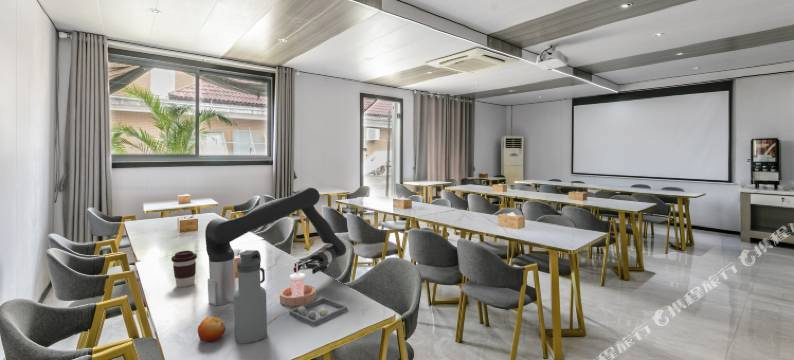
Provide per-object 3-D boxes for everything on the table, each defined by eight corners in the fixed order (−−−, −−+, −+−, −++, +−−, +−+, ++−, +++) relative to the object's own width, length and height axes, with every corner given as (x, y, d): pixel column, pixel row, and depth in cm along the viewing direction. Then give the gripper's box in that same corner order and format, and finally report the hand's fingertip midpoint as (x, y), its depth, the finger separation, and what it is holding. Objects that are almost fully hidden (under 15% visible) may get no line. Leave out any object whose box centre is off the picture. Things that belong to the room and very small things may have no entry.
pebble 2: (311, 321, 128) (311, 313, 128) (306, 319, 130) (305, 311, 130) (318, 318, 131) (317, 310, 130) (312, 316, 132) (312, 308, 132)
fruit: (198, 329, 120) (210, 309, 120) (220, 340, 121) (232, 320, 121) (186, 342, 112) (199, 320, 112) (209, 354, 113) (222, 332, 112)
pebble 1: (300, 317, 132) (300, 309, 132) (295, 314, 134) (295, 306, 134) (307, 314, 134) (307, 306, 134) (302, 312, 136) (302, 304, 136)
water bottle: (243, 328, 124) (241, 247, 122) (272, 328, 123) (269, 247, 121) (229, 344, 113) (225, 256, 111) (260, 344, 113) (257, 256, 111)
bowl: (293, 309, 139) (293, 300, 139) (273, 299, 148) (272, 292, 148) (322, 297, 150) (322, 290, 150) (301, 289, 159) (301, 282, 158)
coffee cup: (167, 287, 163) (166, 254, 162) (187, 279, 172) (186, 248, 171) (183, 290, 159) (181, 256, 158) (202, 282, 168) (201, 250, 167)
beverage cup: (286, 298, 147) (285, 264, 146) (296, 293, 153) (295, 260, 152) (299, 300, 145) (298, 266, 144) (308, 294, 151) (307, 261, 150)
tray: (313, 325, 125) (313, 321, 125) (289, 314, 134) (289, 310, 134) (347, 310, 138) (347, 306, 138) (323, 301, 146) (323, 297, 146)
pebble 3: (323, 319, 130) (322, 310, 130) (317, 316, 132) (317, 308, 132) (329, 316, 133) (329, 308, 133) (324, 313, 135) (323, 306, 134)
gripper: (306, 250, 170) (288, 261, 154) (335, 252, 167) (319, 263, 151) (307, 266, 171) (288, 278, 155) (335, 268, 167) (319, 280, 152)
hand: (303, 270), depth 153 cm, fingers open, 8 cm apart
